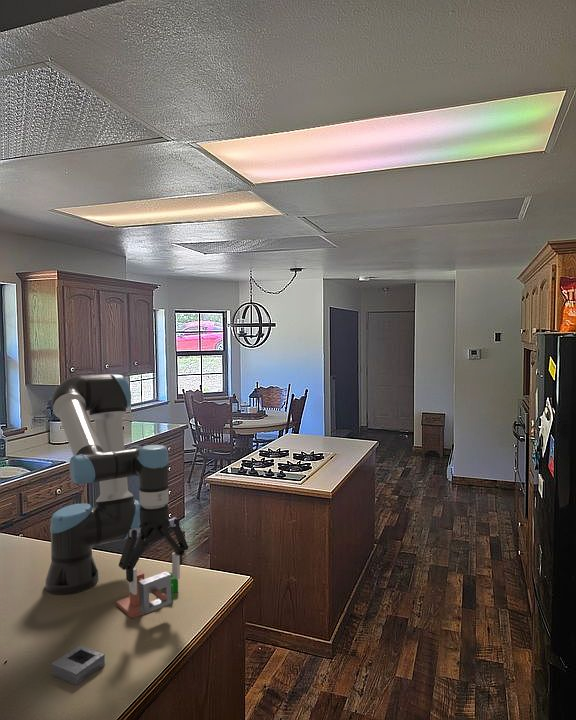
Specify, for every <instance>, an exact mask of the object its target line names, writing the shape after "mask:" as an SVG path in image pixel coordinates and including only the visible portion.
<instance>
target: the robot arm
mask: <svg viewBox="0 0 576 720" xmlns="http://www.w3.org/2000/svg"><path fill="white" fill-rule="evenodd" d="M131 404H132V392H131V388H130V385H129V382H128V380H127V379H126V377H125V376H123V375H122V374H112V373H107V374H105V373H104V374H90V375H89V374H88V375H74V376H71V377H69V378H67V379H65V380H63V381H62V382H61V383H59V385H58V386H57V387H55V390H54V392H53V394H52V397H51V408H52V411H53V414H54V415H55V417H57V418H58V419H59V420H60V422H61V425H62V428H63V431H64V434H65V435H66V439H67V441H68V443H69V446H70V449H71V453H72V455H73V456H71V457H70V459H69V467H68V468H69V474H70V475H69V476H70V479H71V482H72V483H74V484H75V485H81V484H92V483H97V482H98V483H99V491H100V492H99V493H100V495H99V496H98V497H97V499H96V500H95V506H93V507H92V505H91V504H89V503H86V502H85V503H84V502H83V503H74V504H70V505H67V506H64V507H62V508H60V509H58V510H57V511H55V512H54V513H53V514H52V516H51V518H50V528H49V532H50V557H51V561H50V563H49V564H50V565H49V568H48V572H47V573H46V577H45V590H46V591H47V592H48V593H50V594H53V595H72V594H76V593H80V592H83V591H86V590H88V589H90V588H92V587H94V586H95V585H96V584H97V583H98V582H99V570H98V567H97V565H96V562H95V559H94V557H93V547H94V546H100V545H104V544H108V543H112V542H118V541H124V540H126V543H125V544H124V547H123V550H122V551H123V552H122V554H121V557H120V560H119V563H118V567H119V568H120V569H121V570H123V571H125V578H126V579H125V580H126V581H127V582H128V583H129V593H130V592H131V593H132V594H134V595H136V594H137V571H138V569H137V568H136V566H137V564H138V561H139V560H140V558H141V556H142V554H143V552H144V551H145V549H146V547H147V546H148V545H149V544H150V542H151V543H153V542H155V541H156V540H161V539H164V540H165V541H166V543H167V544H168V545H169V546H170V547H171V548H172V550H173V552H172V553H171V573H172V577H174V578H176V579H177V580H178V581H179V580H180V579H181V573H180V572H181V570H180V569H181V568H180V566H181V565H182V563H183V555H185V551H188V550H189V545H188V542H187V540H186V537H185V535H184V533H183V531H182V529H181V526H180V525H181V524H180V519H179V518H177V517H175V516H172V517H170V505H169V504H168V503H169V498H170V497H169V493H170V492H169V462H170V457H169V451H168V447H167V446H165V445H161V444H148V445H132V446H130V447H128V448H126V449H125V439H124V428H123V417H124V416H125V415H126V414H127V409H128V408H129V407H131ZM87 412H88V413H89V414H88V413H87ZM90 418H91V419H92V420H93V421H94V424H95V425H94V426H95V429H94V426H93V423H92V422H91V419H90ZM129 477H138V481H139V483H138V484H139V488H138V489H139V492H138V493H139V494H138V495H139V500H138V499H137V500H136V499H134V494H133V493H132V492H130V491H129V486H128V478H129ZM169 517H170V519H169ZM169 526H170V527H171V529H172V531H173V533H174V535H175V536H174V537H175V538H176V540H177V542H178V543H177V542H176V540H174V538H173V537H172V536H171V534H170V533H169V532H168V528H170V527H169ZM139 534H140V536H139ZM137 539H138V541H137ZM136 543H137V544H136Z"/></svg>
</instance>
